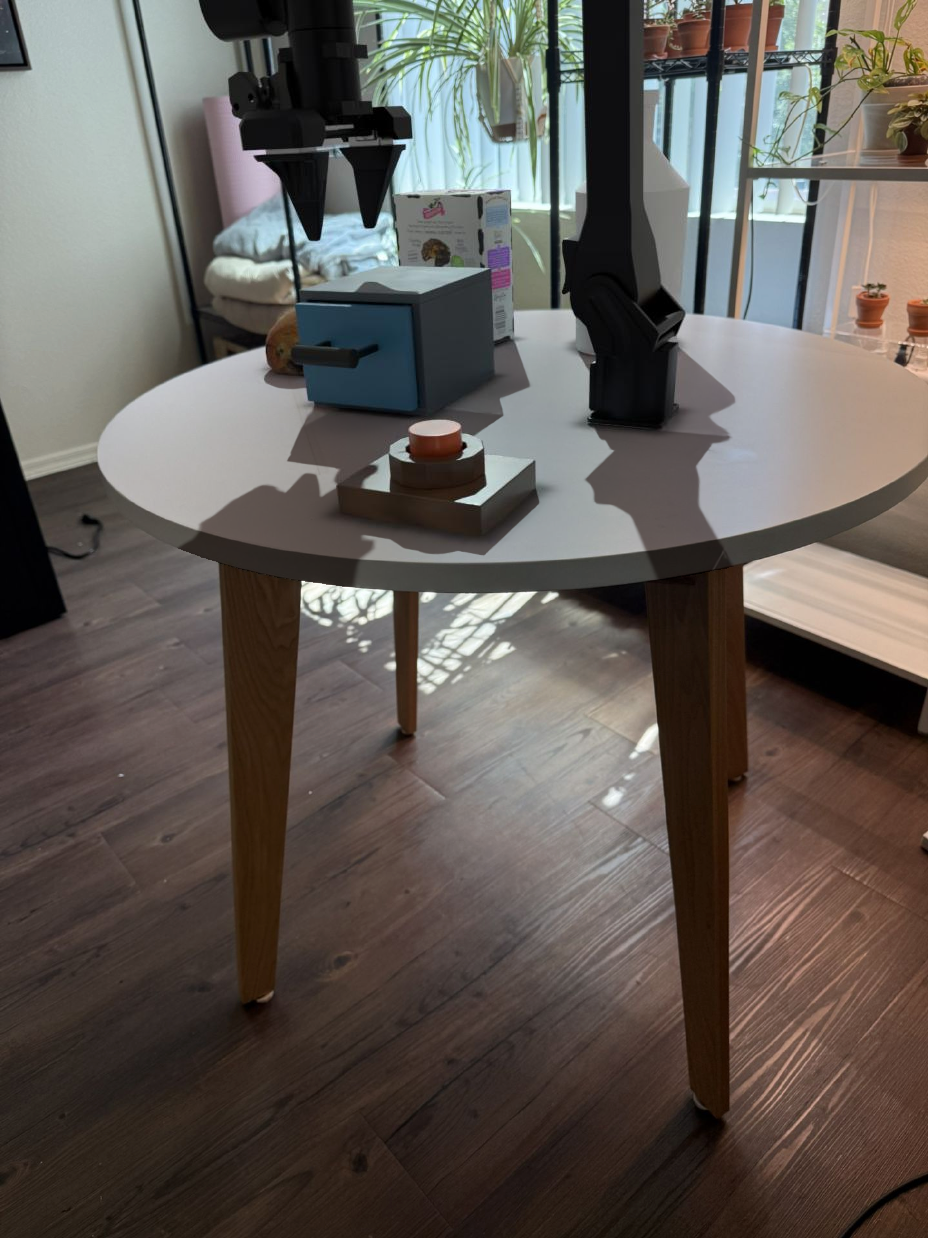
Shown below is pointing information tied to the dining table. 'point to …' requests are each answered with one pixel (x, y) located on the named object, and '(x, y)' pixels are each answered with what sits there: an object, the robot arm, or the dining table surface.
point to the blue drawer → (358, 353)
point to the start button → (435, 438)
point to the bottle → (652, 213)
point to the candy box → (461, 239)
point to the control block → (439, 488)
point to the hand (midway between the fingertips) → (343, 234)
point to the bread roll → (283, 345)
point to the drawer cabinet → (430, 324)
